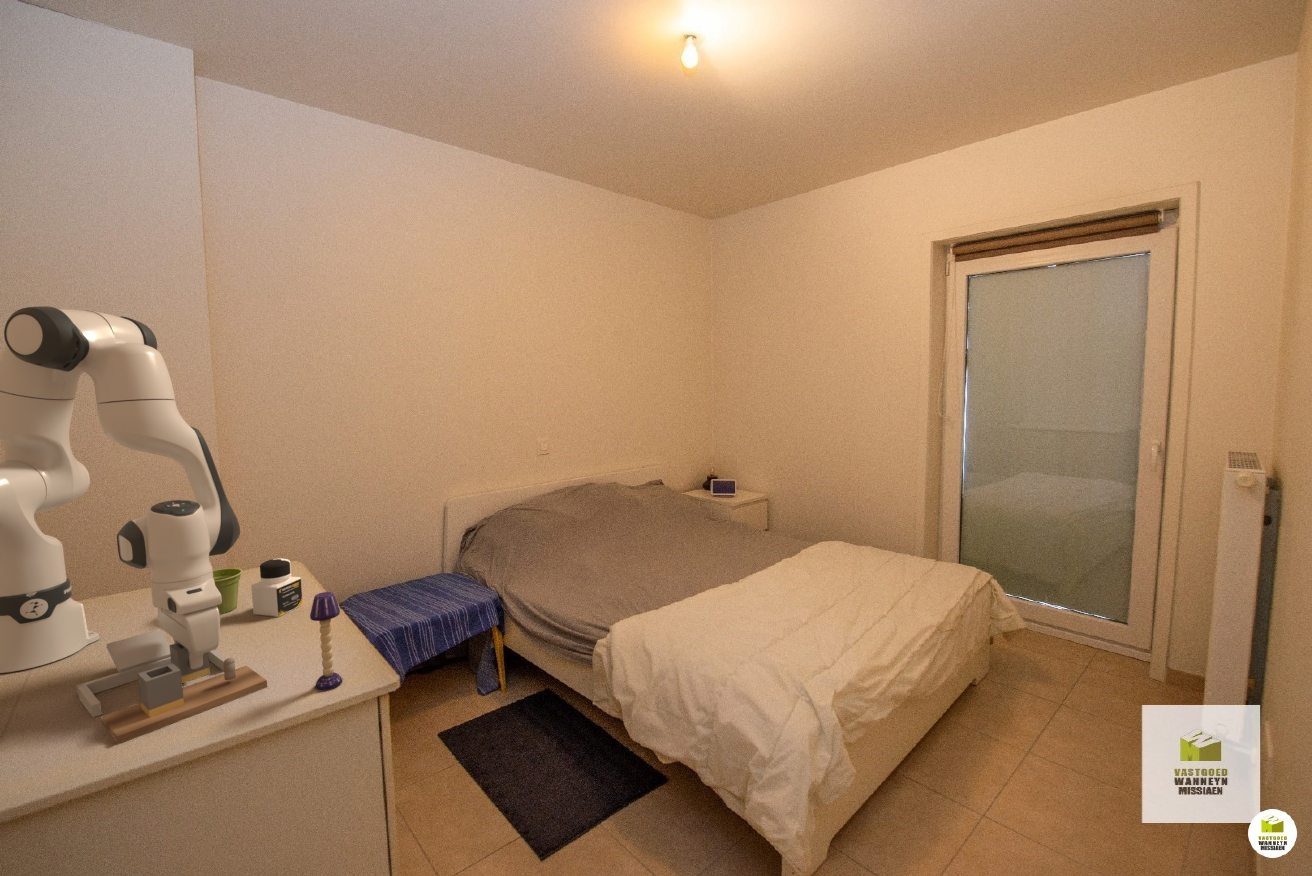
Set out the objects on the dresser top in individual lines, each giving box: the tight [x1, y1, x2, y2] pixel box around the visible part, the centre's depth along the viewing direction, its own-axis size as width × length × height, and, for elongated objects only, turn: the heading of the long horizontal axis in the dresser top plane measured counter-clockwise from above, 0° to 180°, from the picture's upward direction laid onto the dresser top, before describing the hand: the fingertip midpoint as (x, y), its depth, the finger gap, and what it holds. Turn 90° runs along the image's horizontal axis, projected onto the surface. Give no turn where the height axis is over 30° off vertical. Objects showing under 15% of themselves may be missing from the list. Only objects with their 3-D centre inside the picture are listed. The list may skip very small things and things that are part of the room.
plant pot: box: [213, 567, 243, 615], centre depth 137 cm, size 9×9×9 cm
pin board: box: [101, 657, 268, 745], centre depth 98 cm, size 9×20×6 cm, turn 144°
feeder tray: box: [76, 628, 228, 718], centre depth 107 cm, size 18×19×5 cm
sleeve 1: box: [137, 663, 184, 717], centre depth 95 cm, size 4×4×6 cm
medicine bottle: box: [251, 558, 303, 618], centre depth 137 cm, size 7×7×12 cm
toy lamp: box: [309, 591, 343, 692], centre depth 104 cm, size 5×5×17 cm
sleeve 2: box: [169, 643, 211, 684], centre depth 108 cm, size 4×4×6 cm
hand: (190, 662), depth 108 cm, fingers closed on sleeve 2, 4 cm apart
